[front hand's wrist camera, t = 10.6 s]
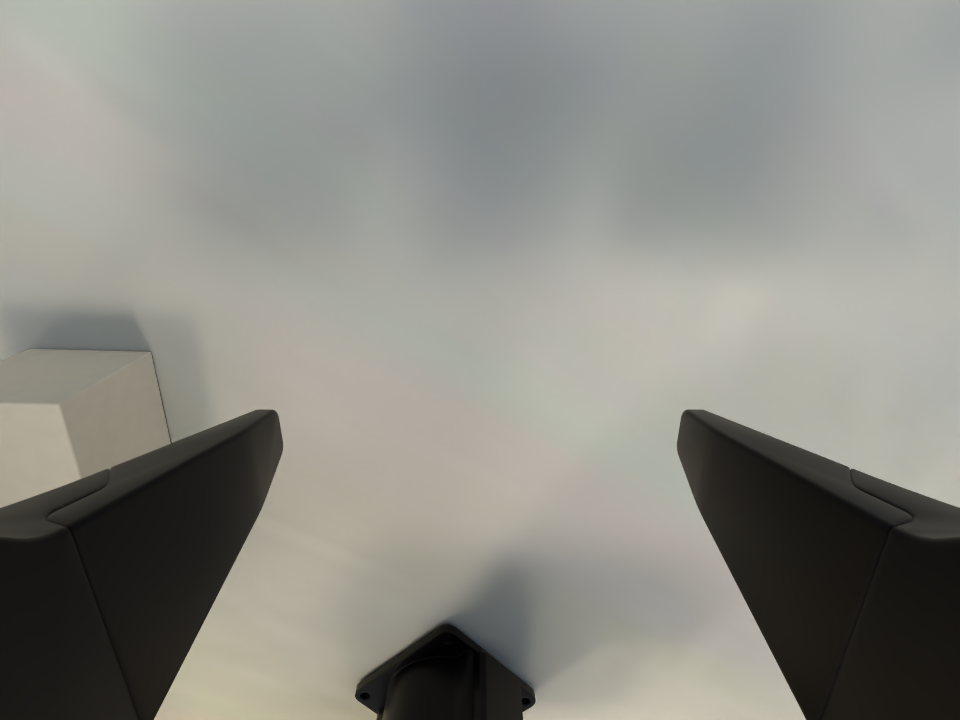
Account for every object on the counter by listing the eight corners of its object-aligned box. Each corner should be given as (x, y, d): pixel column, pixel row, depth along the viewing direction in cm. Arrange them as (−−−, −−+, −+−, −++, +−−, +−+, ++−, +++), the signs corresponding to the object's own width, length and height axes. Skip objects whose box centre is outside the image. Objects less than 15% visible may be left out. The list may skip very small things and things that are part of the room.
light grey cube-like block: (151, 351, 19) (58, 404, 15) (174, 458, 21) (96, 532, 16) (30, 348, 19) (-98, 400, 15) (62, 455, 21) (-44, 529, 16)
